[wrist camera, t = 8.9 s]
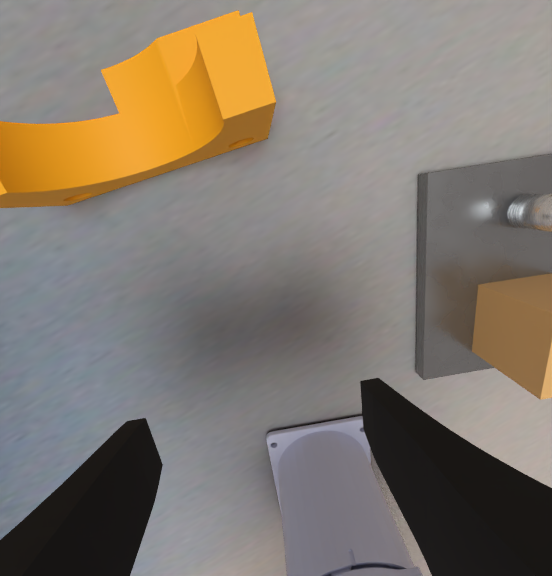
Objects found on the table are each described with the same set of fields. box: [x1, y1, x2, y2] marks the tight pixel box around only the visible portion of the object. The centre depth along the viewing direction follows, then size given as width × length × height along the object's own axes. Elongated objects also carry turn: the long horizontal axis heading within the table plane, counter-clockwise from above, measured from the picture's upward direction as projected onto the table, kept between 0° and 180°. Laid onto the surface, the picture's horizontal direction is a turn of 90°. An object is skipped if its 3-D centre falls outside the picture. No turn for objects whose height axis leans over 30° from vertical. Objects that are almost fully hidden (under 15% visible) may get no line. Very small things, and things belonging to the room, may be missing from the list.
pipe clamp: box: [0, 10, 276, 208], centre depth 12 cm, size 12×4×6 cm, turn 107°
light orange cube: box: [472, 273, 552, 399], centre depth 17 cm, size 5×5×5 cm
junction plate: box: [416, 154, 552, 380], centre depth 17 cm, size 14×12×4 cm
